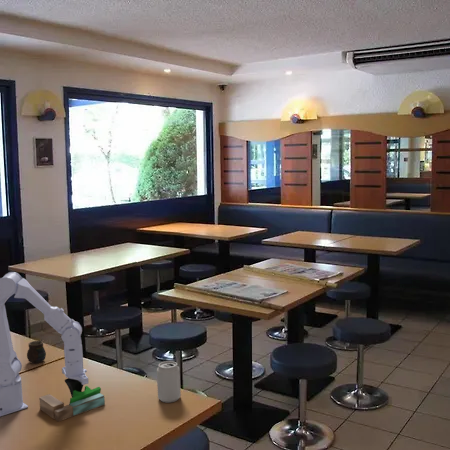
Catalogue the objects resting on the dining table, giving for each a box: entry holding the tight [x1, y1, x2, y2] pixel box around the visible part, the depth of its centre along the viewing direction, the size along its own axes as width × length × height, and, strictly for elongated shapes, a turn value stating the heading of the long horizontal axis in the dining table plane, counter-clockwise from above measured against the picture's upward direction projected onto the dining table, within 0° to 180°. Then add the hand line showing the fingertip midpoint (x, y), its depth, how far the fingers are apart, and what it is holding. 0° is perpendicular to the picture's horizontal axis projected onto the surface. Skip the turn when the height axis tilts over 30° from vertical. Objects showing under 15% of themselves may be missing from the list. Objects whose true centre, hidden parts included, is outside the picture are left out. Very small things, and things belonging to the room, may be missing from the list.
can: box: [156, 360, 182, 404], centre depth 180 cm, size 8×8×12 cm
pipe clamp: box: [69, 385, 102, 404], centre depth 178 cm, size 11×4×5 cm, turn 140°
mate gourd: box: [26, 339, 47, 365], centre depth 219 cm, size 7×8×10 cm
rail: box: [54, 392, 106, 422], centre depth 173 cm, size 16×3×3 cm, turn 132°
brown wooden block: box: [39, 393, 65, 420], centre depth 173 cm, size 4×10×4 cm, turn 42°
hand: (76, 399), depth 180 cm, fingers closed
